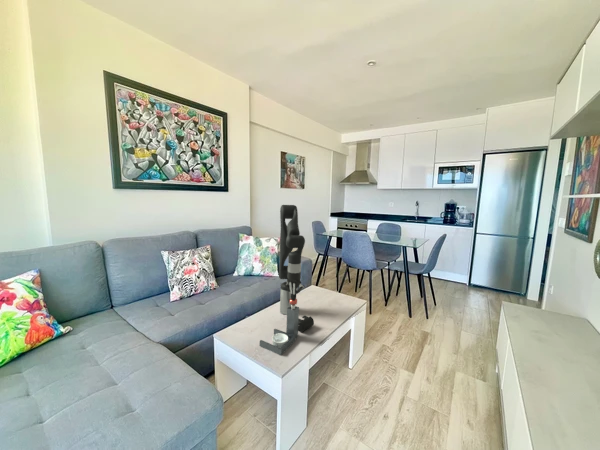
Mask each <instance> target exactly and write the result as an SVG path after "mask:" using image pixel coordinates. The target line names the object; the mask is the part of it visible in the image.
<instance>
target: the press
mask: <svg viewBox="0 0 600 450" xmlns="http://www.w3.org/2000/svg"><path fill="white" fill-rule="evenodd" d="M299 316H300V307H299V306H296V305H295V309H294V310H293V309H291V306H290V307H288V308H287V315H286V330H285V331H286V332H285V331H282V330H280V329H278V328H274V329H273V335H275V334H278V333H282V334H285V335H287V336H288V341H287V342H286V343H285V344H284V345H283V346H282V347H281V348H279V347H277V346H275V345H273V343H270V342H268V341H265V340H262V339H259V347H260V348H263V349H266V350H267V351H270V352H272V353H274V354H277V355H279V356H282V355H283V354H284V353H285V352H286V351H287V350H288V349H289V348H290V347H291V346H292V345H293V344H294V343H295V342H296V339H297V338H298V336H299V331H298V322H299V319H300V318H299Z"/></svg>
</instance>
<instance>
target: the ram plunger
mask: <svg viewBox="0 0 600 450" xmlns="http://www.w3.org/2000/svg"><path fill="white" fill-rule="evenodd" d="M289 303H290V304H291V309H293V310H294V309H295V306H296V305H297V304H298V298H296V299H295V300H291V298H290V301H289Z"/></svg>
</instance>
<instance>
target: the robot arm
mask: <svg viewBox="0 0 600 450" xmlns="http://www.w3.org/2000/svg"><path fill="white" fill-rule="evenodd" d="M279 210H280V211H279V212H280V214H279V215H280V216H279V218H280V220H279V221H280V237H279V266H278V277H279V279H280V280H286V281H284V282H282V283H281V284H280V293H279V294H280V296H279V298H280V299H279V300H280V301H279V302H280V303H279V304H280V305H279V313H280V314H282V315H285V316H287V308H288V307H290V306H291V304H290V303H289V301H290V298H291V300H295V299H297V294H299V293H300V292H301V291H303V290H304V288H305V285H303V284H302V282H301V280H302V278H301V277H302V253H303V250H304V246H305V243H306V240H305V239H306V238H305V237H304V236H303V235H300V234H301V232H300V227H299V212H298V207H297V206H296V205H294V204H281V205H280V209H279ZM286 220H289V221H288V223H286ZM294 249H296V250H294ZM287 259H288V261H287V262H288V263H287V265H285V263H286V260H287Z"/></svg>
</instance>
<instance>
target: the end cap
mask: <svg viewBox="0 0 600 450" xmlns="http://www.w3.org/2000/svg"><path fill="white" fill-rule="evenodd" d="M301 318H302V319H301ZM301 318H299V322H298V333H302V332H304V331H306V330H308V329H309V328H311V327H312V326H314V324H315V320H314V318H313V317H312V316H309V317H308V316H307V315H306V314H305V315H303V316H301Z"/></svg>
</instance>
